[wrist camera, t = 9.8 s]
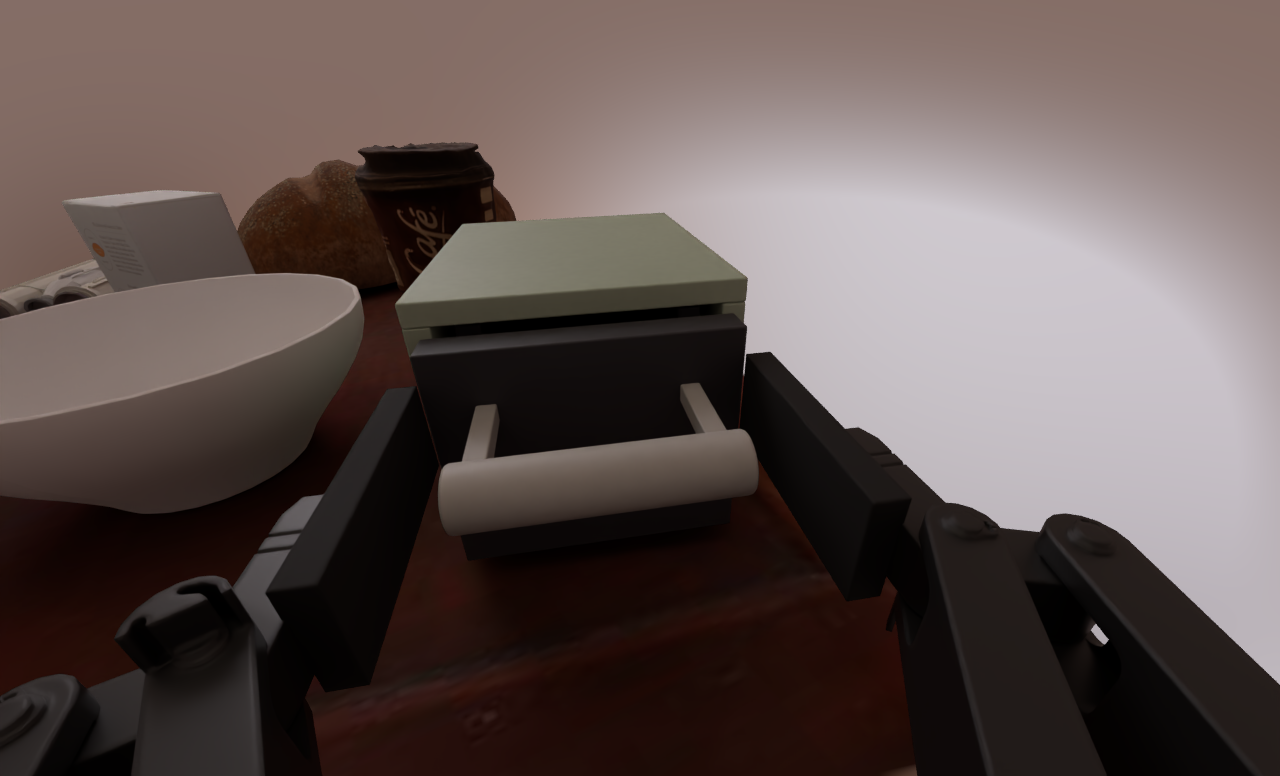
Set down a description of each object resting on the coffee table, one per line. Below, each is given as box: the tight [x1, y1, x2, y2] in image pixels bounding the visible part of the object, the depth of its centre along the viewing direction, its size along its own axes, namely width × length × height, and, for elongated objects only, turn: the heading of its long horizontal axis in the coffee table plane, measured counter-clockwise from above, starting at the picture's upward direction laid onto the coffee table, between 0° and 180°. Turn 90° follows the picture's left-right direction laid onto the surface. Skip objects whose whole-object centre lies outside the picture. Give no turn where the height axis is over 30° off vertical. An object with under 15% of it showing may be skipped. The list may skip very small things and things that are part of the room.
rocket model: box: [0, 259, 115, 319], centre depth 50 cm, size 9×4×30 cm
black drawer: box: [410, 305, 759, 561], centre depth 18 cm, size 16×9×8 cm, turn 10°
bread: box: [237, 160, 516, 289], centre depth 51 cm, size 16×29×11 cm, turn 145°
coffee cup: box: [355, 143, 496, 293], centre depth 34 cm, size 9×8×13 cm
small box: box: [62, 190, 255, 293], centre depth 34 cm, size 8×6×10 cm
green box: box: [395, 213, 748, 424], centre depth 22 cm, size 13×11×10 cm
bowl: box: [0, 273, 364, 514], centre depth 22 cm, size 16×16×7 cm
